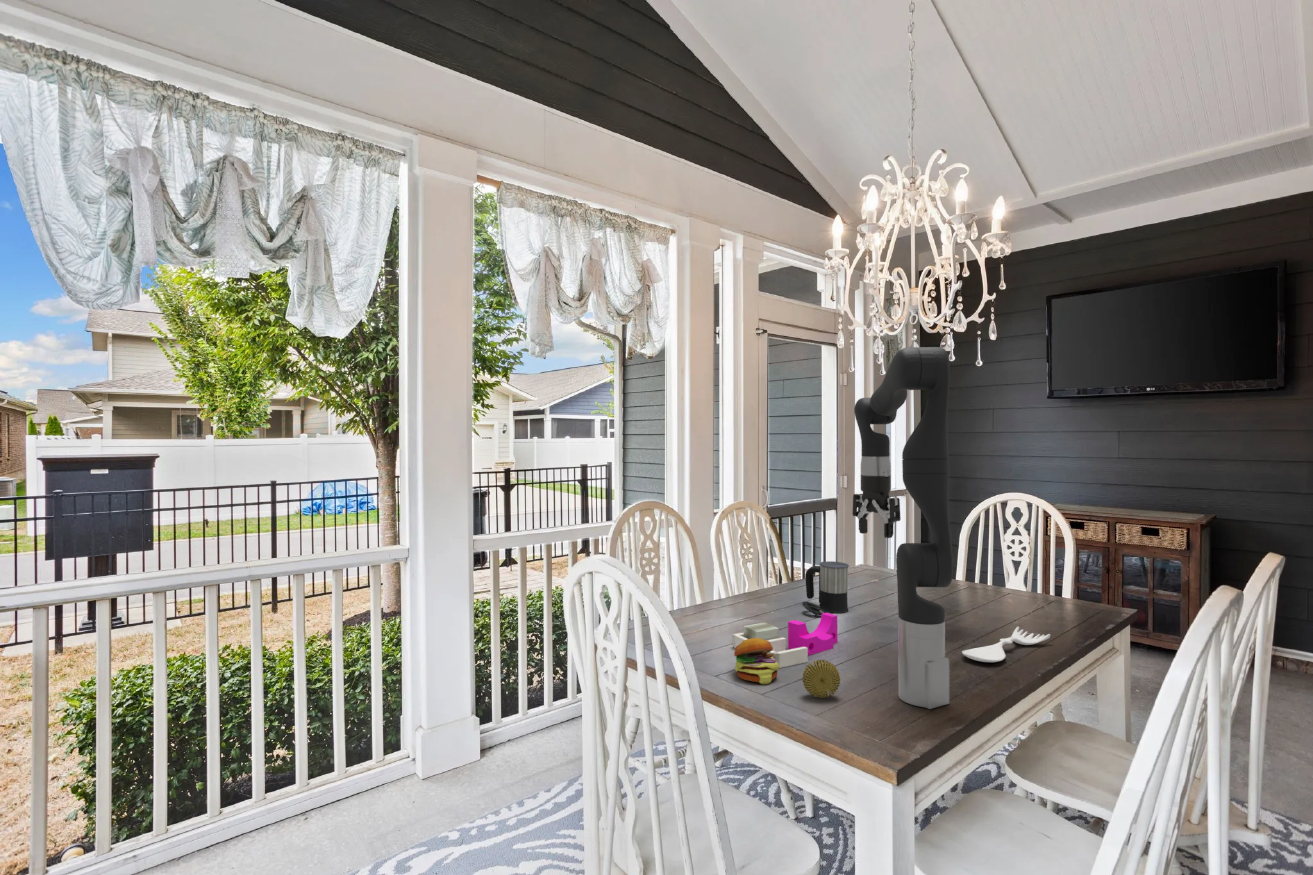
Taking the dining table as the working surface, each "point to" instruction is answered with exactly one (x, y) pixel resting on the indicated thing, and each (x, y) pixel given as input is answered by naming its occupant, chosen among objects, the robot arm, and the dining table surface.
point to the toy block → (813, 634)
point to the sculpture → (821, 678)
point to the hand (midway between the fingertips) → (875, 535)
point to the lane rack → (780, 651)
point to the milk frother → (828, 588)
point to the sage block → (761, 631)
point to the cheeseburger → (755, 661)
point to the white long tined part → (996, 650)
